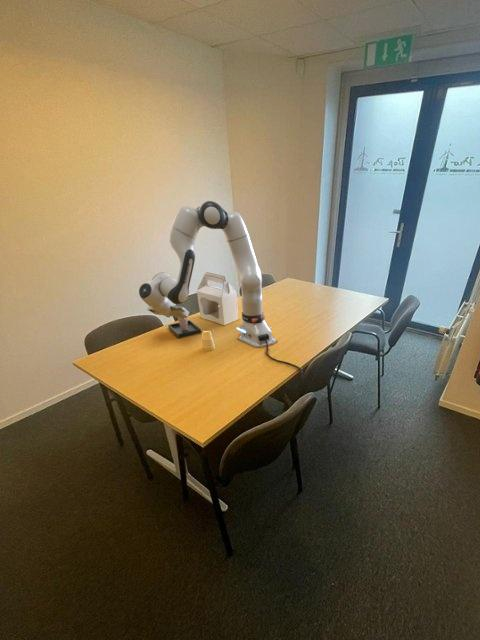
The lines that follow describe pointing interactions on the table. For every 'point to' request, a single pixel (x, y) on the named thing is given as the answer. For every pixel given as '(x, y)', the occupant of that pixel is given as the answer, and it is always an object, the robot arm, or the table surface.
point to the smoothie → (183, 323)
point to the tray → (180, 333)
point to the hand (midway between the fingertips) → (176, 317)
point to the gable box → (217, 300)
